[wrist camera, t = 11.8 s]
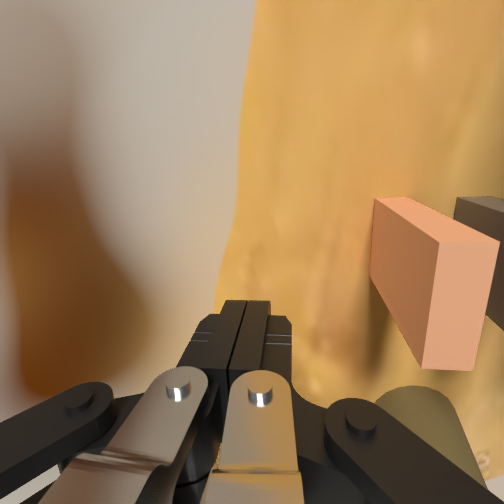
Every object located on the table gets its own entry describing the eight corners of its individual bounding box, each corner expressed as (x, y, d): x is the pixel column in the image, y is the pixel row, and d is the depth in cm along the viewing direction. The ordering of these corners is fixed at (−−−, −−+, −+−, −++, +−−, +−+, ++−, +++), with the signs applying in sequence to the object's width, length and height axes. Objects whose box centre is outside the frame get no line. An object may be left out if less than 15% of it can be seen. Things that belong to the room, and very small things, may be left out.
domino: (374, 198, 19) (439, 242, 10) (406, 197, 18) (500, 241, 10) (369, 275, 20) (421, 368, 12) (398, 275, 20) (473, 370, 12)
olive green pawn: (466, 438, 23) (600, 670, 13) (385, 456, 25) (448, 676, 15) (441, 375, 22) (570, 580, 12) (357, 398, 24) (406, 597, 13)
